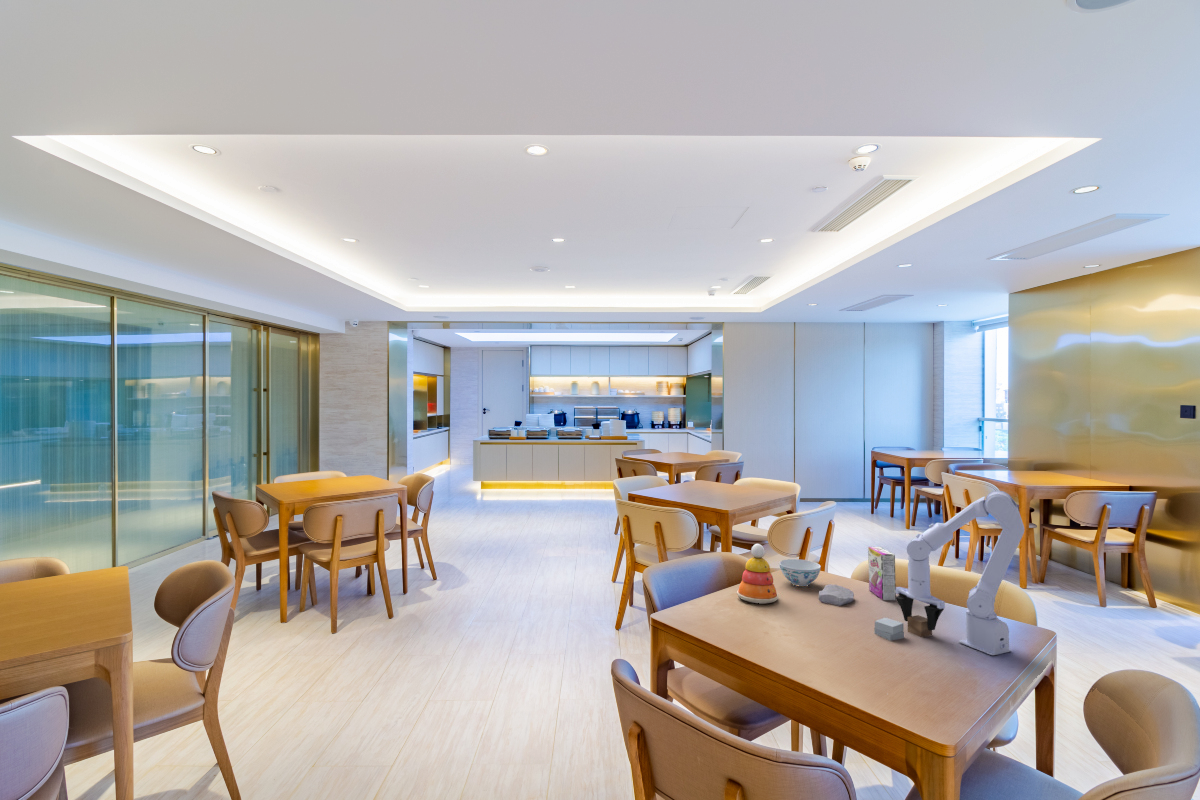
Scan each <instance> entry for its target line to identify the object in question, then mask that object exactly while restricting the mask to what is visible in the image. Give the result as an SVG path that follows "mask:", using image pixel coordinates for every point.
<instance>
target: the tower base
mask: <svg viewBox="0 0 1200 800" xmlns="http://www.w3.org/2000/svg"><path fill="white" fill-rule="evenodd" d="M873 629H874V631H873V632H874V634H875V635H876V636H878V637H880V638H883V639H885V640H888V641H889V642H891V641H896V640H900V639H901V640H902V639H904V638H905V631H901V632H899V633H896V634H894V635H893V634H890V633H887V632H884V631H881V630H878V629H875V627H874V628H873Z"/></svg>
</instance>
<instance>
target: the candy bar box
mask: <svg viewBox="0 0 1200 800" xmlns="http://www.w3.org/2000/svg"><path fill="white" fill-rule="evenodd" d="M867 553H868V554H867V555H868V557H867V559H868V591H869V592H871V593H872V594H873V595H875V596H876V597H878V598H879V599H880V600H882V601H883V602H892V601H897V600H896V597H897V596H896V595H897V594H896V587H897V586H896V554H895V553H892V552H890V551H889V550H888V549H885V548H883V547H881V546H868V547H867Z"/></svg>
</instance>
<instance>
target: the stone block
mask: <svg viewBox="0 0 1200 800" xmlns="http://www.w3.org/2000/svg"><path fill="white" fill-rule="evenodd" d="M854 597H855V594H854V592H853V590H851V589H850V588H847V587H844V586H842V585H838V584H832V583H831V584H827V585H825V586H824V588H823V589H822V590H819V592H818V600H819V602H820V601H821V602H820V603H824V604H828V603H829V605H833V606H837V607H838V606H839V607H840V606H844V605H845V604H850V603H851V602H853V601H854Z"/></svg>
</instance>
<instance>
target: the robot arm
mask: <svg viewBox="0 0 1200 800" xmlns="http://www.w3.org/2000/svg"><path fill="white" fill-rule="evenodd" d="M989 515H990V516H991V517H993V518H994V519H995V520H996V521H997V523H998V524H999V526H1000V527H1001V529H1002V530H1001V532H1000V534H999V536H998V539H997V541H996V543H995V545H994V548H993V549H992V552H991V554H990V556H989V559H988V561H987V563H986V565H985V568H984V569H983V572H982V573H981V576H980V578H979V580H978V582H977V584H976V585H975V586H974V587H972V588H971V589H970V590H969V592H968V598H967V600H966V607H967V608H966V609H965V620H966V621H965V622H966V623H965V625H966V629H965V631H966V634H965V635H966V636H965V637H966V638H965V639H961V640H960V639H959V641H958V642H959V643H960V644H963V645H964V646H967V647H969V648H972V649H975V650H977V651H980V652H982V653H984V654H986V655H987V654H988V655H990V656H997V655H1002V654H1004V653H1009V652H1011V651H1012V649H1011V648H1010V634H1009V633H1010V629H1009V625H1008V624H1007V623H1006V622H1005V621H1003V620H1001V619H1000V618H998V615H997V613H996V612H995V604H996V603H995V602H996V596H997V594H998V591H999V588H1000V585H1001V584H1002V581H1003V579H1004V577H1005V576H1006V573H1007V571H1008V569H1009V566H1010V564H1011V561H1012V559H1013V557H1014V555H1015V553H1016V551H1017V549H1018V546H1019V544H1020V543H1021V540H1022V539H1023V536H1024V533H1025V525H1024V522H1023V520H1022V516H1021V513H1020V510H1019V508H1018V504H1017V502H1016V501H1015V500H1014V498H1012V496H1011V495H1010V493H1008V492H1006V491H1004V490H993V491H991V492H989V493H988V494H987V495H986V496H982V497H980V498H978V499H976V500H974V501H973V502H971V503H970V504H969V505H967V506H966V507H965V508H963V509H962V510H961V511H959V512H958V513H957V514H956V515H954V516H953V517H951V518H950V519H949V520H947V521H946V522H945V523H944V522H942V523H941V522H936V523H931V524H929V525H928V527H929V528H927V529H926V530H925V531H923V532H922V533H917V534H916V535H915V538H913V539H912V540H910V541H909V543H908V544H907V545H906V553H907V555H908V557H907V559H908V563H907V584H908V585H907V586H908V587H902V586H896V595H898V596H896V601H897V603H898V605H899V607H900V609H901V612H902V616H903V619H904V621H905V622H908V617H910V616H913V615H912V614H913V604H914V600H915V601H918V602H922V603H925V604H927V605H926V606H923V607H924V610H925V614H926V615H925V616H926V618H927V627H928V630H930V631H931V630H932V631H936V630H935V629H936V626H937V624H938V620H939V617H940V616H941V614H942V613H943V611H944V609H945V608H946V605H945V604H946V603H945V602H946V601H945V600H942V599H940V598H937V597H935V596H934V595H932V593H931V565H930V557H929V555H930V554H931V552H936V551H937V550H939V549H940V548H942V547H943V546H944V545H946V544H948V543H949V542H950V541H952V540H953V539H954V533H955V532H956V531H957V530H958V529H960V528H962V527H963V526H965V525H967V524H968V523H970V522H972V521H973V520H975V519H976V518H988V517H989Z"/></svg>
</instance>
